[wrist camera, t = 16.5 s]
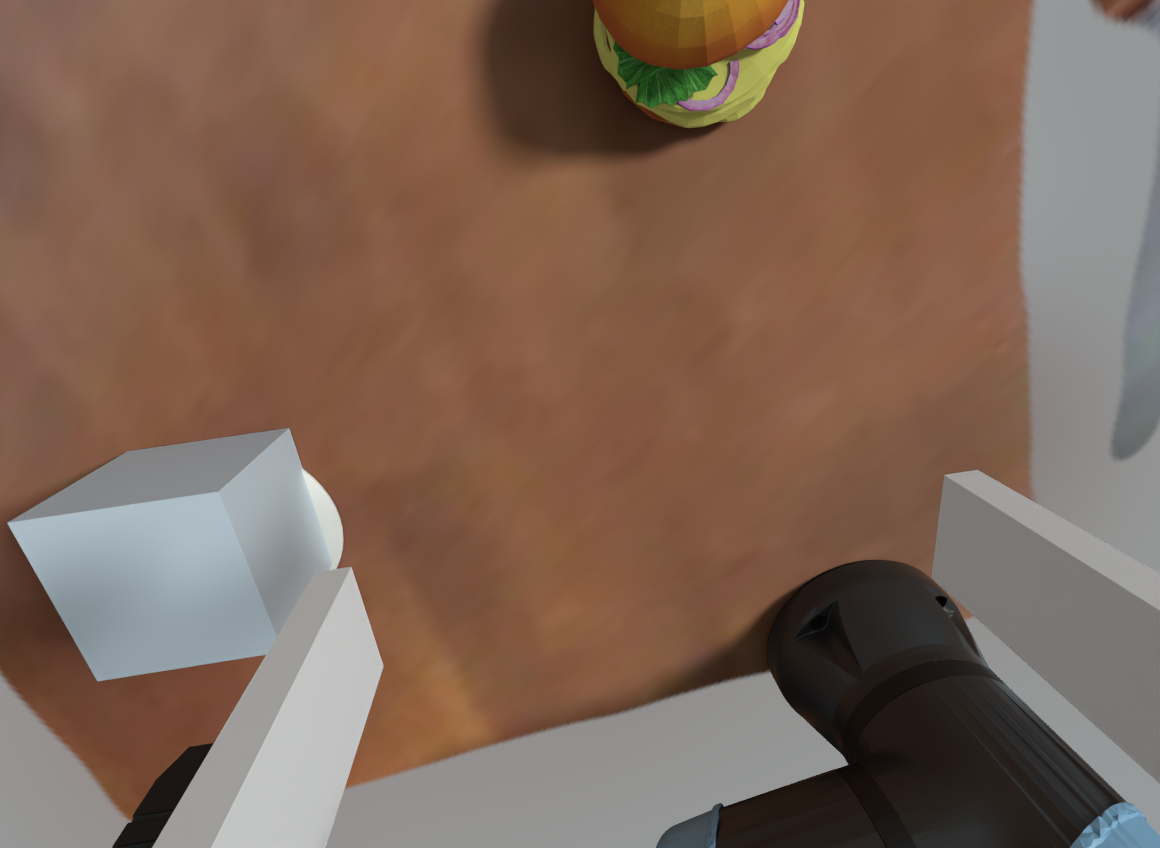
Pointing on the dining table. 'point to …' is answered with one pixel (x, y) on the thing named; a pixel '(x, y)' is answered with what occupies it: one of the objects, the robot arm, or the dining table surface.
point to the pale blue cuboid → (178, 552)
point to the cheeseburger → (695, 54)
